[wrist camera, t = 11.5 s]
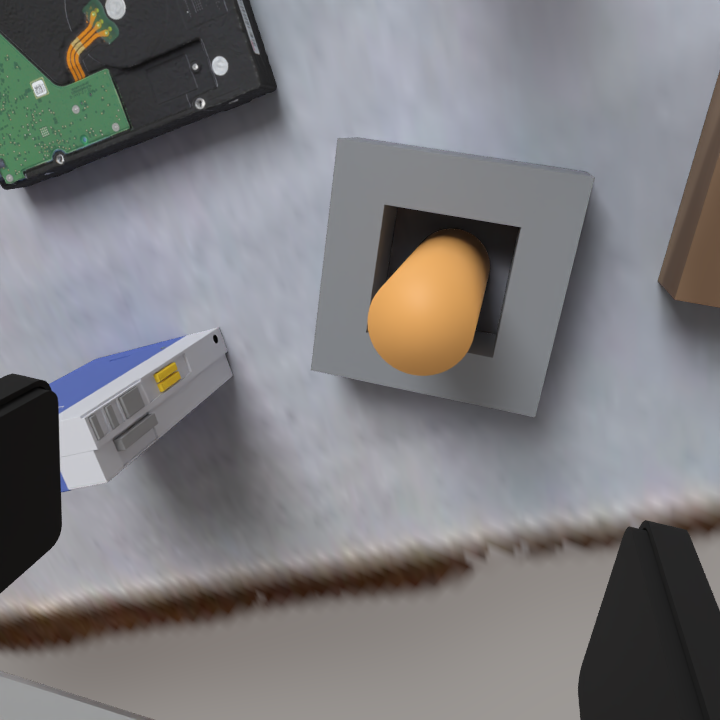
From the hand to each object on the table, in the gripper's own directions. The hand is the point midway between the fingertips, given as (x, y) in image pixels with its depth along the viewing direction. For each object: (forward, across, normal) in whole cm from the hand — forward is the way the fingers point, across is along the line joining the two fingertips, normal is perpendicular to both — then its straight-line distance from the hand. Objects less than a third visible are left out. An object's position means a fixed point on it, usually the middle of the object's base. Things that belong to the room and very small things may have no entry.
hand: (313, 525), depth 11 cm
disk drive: (+23, +18, -8) cm, 30 cm away
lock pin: (+22, 0, 0) cm, 22 cm away
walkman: (+22, +14, +8) cm, 28 cm away
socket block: (+22, 0, 0) cm, 22 cm away
